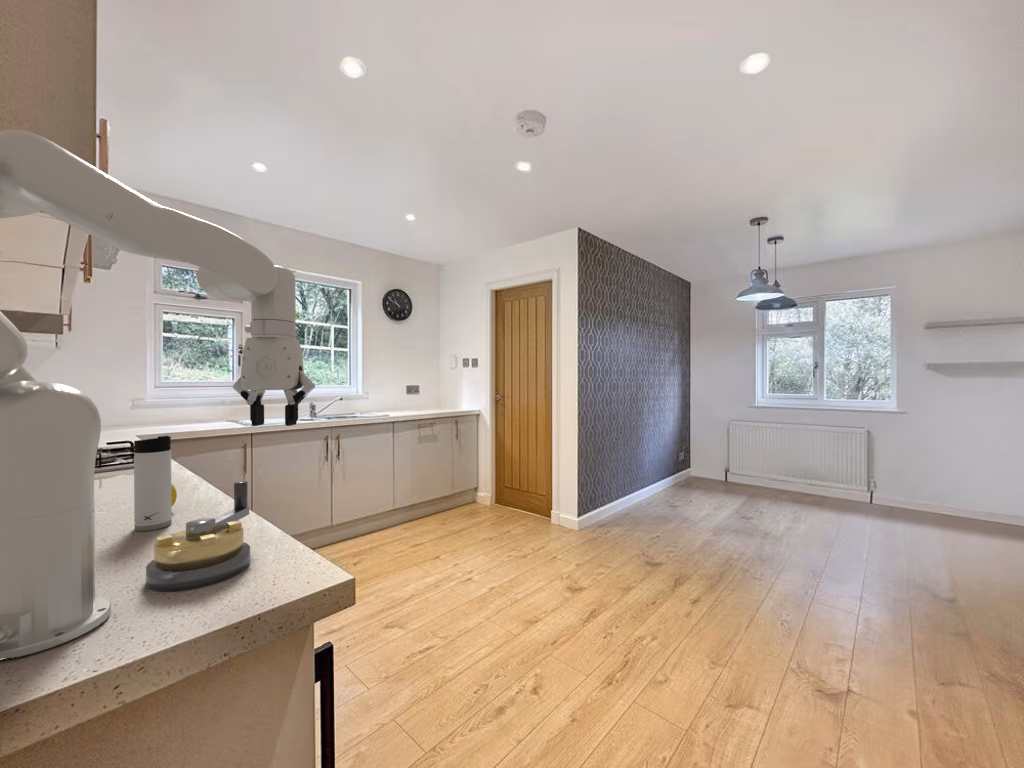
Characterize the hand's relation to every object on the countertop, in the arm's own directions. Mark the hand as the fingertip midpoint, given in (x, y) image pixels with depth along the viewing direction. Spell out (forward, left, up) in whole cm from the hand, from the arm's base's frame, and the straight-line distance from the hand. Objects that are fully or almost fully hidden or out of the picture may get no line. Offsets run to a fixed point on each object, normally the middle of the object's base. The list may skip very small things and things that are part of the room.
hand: (274, 424), depth 82 cm
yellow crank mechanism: (-8, +7, -21) cm, 23 cm away
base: (-11, +6, -24) cm, 27 cm away
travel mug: (+12, +32, -24) cm, 42 cm away
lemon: (+22, +38, -24) cm, 50 cm away
